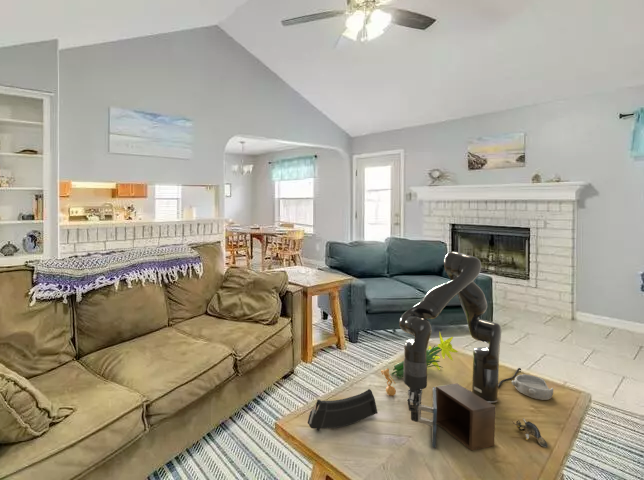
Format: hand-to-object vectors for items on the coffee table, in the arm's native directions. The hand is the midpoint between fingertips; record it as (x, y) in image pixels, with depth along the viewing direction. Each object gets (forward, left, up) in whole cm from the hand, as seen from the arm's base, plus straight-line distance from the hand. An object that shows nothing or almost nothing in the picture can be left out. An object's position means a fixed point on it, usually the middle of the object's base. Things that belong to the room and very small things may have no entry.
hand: (415, 419), depth 133 cm
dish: (-61, +43, -7) cm, 76 cm away
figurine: (-25, -12, -7) cm, 29 cm away
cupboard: (-12, +15, -7) cm, 21 cm away
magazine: (+4, -24, -7) cm, 26 cm away
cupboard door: (-6, +3, -7) cm, 10 cm away
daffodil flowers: (-55, 0, -7) cm, 55 cm away
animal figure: (-21, +36, -7) cm, 43 cm away
